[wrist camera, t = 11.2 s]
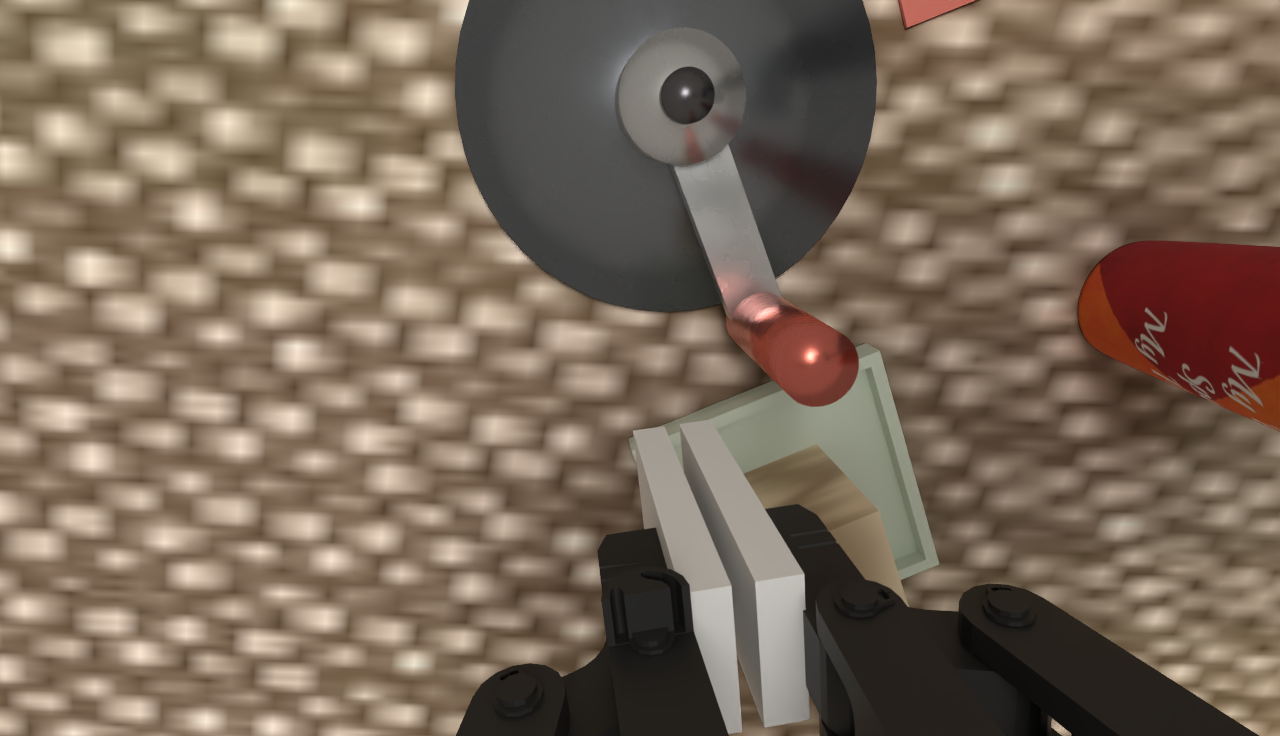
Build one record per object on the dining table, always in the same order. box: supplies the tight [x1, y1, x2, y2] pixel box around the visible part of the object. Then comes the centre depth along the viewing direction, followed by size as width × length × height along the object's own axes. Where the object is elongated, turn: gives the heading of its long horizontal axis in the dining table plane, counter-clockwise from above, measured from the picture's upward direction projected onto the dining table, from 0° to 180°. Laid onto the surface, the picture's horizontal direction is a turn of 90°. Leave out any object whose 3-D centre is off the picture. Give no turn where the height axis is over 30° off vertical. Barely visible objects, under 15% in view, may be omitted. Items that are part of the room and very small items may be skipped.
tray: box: [628, 343, 939, 580], centre depth 35 cm, size 13×13×2 cm
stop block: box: [744, 444, 909, 607], centre depth 32 cm, size 5×5×7 cm
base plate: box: [455, 0, 877, 312], centre depth 28 cm, size 18×18×4 cm
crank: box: [615, 27, 859, 407], centre depth 26 cm, size 14×5×9 cm, turn 22°
